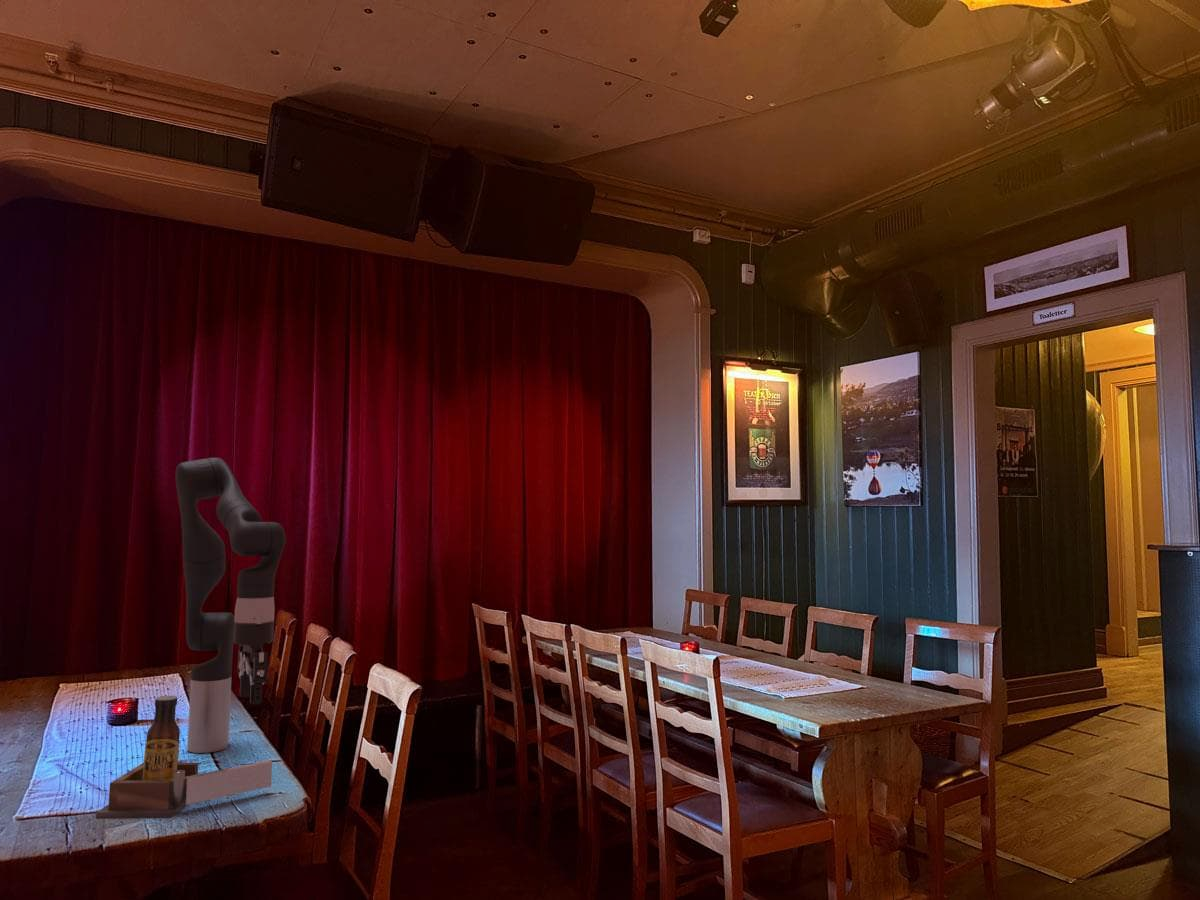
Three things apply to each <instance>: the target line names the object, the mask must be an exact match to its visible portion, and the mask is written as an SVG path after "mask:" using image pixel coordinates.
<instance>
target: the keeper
mask: <svg viewBox="0 0 1200 900" xmlns="http://www.w3.org/2000/svg"><path fill="white" fill-rule="evenodd" d="M272 774H273V761H271V760H270V759H268V760H264V761H258V762H253V763H247V764H244V765H238V766H233V767H229V768H228V767H227V768H224V769H219V770H213V771H208V772H203V773H198V774H197V775H192V776H187V777H185V770H176V771H174V774H173V793H172V807H180V806H183V800H184V804H185V805H186V806H187V805H191V804H196V803H197V804H198V803H200V802H205V801H211V800H214V799H218V798H223V797H229V796H234V795H237V794H242V793H247V792H250V791H256V790H261V789H264V788H265V789H266V788H269V787H272V777H273V775H272ZM184 781H185V784H184Z"/></svg>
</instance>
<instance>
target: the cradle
mask: <svg viewBox="0 0 1200 900" xmlns="http://www.w3.org/2000/svg"><path fill="white" fill-rule="evenodd" d="M143 766H144V762H142V763H141V764H139V765H137V766H135V767H134V768H132V769H131V770H129V771H127V772H126V773H124V774H122V775H121V776H118V777H117V778H116V779H114V780H112V781H110V783H109V795H108V804H107V805H105V806H104V807H102V808H101V809H99V810H98V811H96V812H95V819H96V818H97V819H105V818H106V819H114V818H115V819H121V818H122V819H125V818H127V819H128V818H131V819H134V818H136V819H138V818H139V819H141V818H142V819H144V818H147V819H148V818H156V819H159V818H166V819H167V818H168V819H169V818H172V817H173V816H174V815H175V814H177V813H178V812H179V811H181V810H182V809H183V808H184V807H186V806H187V805H185V804H184V800H183V806H180V807H172V790H173V781H142V777H143ZM177 770H185V777H187V776H192V775H197V774H199V762H178V766H177ZM184 784H185V781H184Z"/></svg>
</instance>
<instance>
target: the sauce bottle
mask: <svg viewBox="0 0 1200 900" xmlns="http://www.w3.org/2000/svg"><path fill="white" fill-rule="evenodd" d="M177 704H178V697H177V696H175V695H164V696H163V695H162V696H158V697H156V698H155V700H154V707H155V708H154V709H155V710H154V717H153V723H152V724H151V726H150V727H149V729H148V730H147V732H146V741H145V744H144V745H145V746H144V754H143V755H144V757H143V763H144V766H143V777H142V781H173V774H174V771H176V770H177V766H178V763H179V753H180V743H181V742H180V737H181V733H180V732H181V731H180V726H179V725H178V724H177V722H176V710H177V709H176V707H177ZM172 793H173V790H172Z"/></svg>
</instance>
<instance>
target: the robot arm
mask: <svg viewBox="0 0 1200 900" xmlns="http://www.w3.org/2000/svg"><path fill="white" fill-rule="evenodd" d="M175 487H176V492H177V493H176V494H177V499H178V500H177V501H178V505H179V506H178V508H179V514H180V521H181V535H182V536H181V537H182V539H181V540H182V564H183V565H182V566H183V573H184V583H185V595H186V596H185V597H186V600H185V601H186V609H185V611H186V614H185V615H186V617H185V622H186V623H185V624H186V625H185V629H186V630H185V637H186V644H187V646H188V648H189V649H190V650H192V651H218V652H217V653H218V654H217V655H216V656H214V658H211V659H209V660H208V661H205V662H201V663H199V664H196V665H194V666H193V667H192V668H191V669H190V670H191V671H190V686H189V707H188V708H189V709H188V723H187V724H188V728H187V729H188V731H187V747H186V748H187V752H190V753H194V754H196V753H197V754H206V753H207V754H208V753H215V752H218V751H222V750H224V749H227V748H228V747H229V737H230V736H229V735H230V717H231V716H230V715H231V696H232V695H231V693H232V673H233V653H234V652H233V651H234V644H235V645H238V647H237V648H238V655H237V669H236V672H237V674H238V677H239V681H240V682H239V696H240V697H241V698H248V697H249V704H250V705H252V706H253V705H260V704H262V703H263V693H264V684H266V683H268V665H269V652H268V651H264V644H271V643H272V642H273V641H274V629H275V628H274V625H275V623H274V622H275V596H274V595H275V580H276V574H277V570H278V567H279V563H280V560H281V557H282V554H283V552H284V550H285V549H284V548H285V546H286V539H287V537H286V532H285V529H284V527H283V526H282V525H281V524H280V523H279V522H273V521H262V517H261V514H260V513H259V511H258V510H257V509H256V508H255V507H254V506H253V505H252V504H251V502H250V501H249V500H248V499H247V498H246V496H245V495H244V494H243V491H242V490H241V487H240V486H239V483H238V481H237V479H236V478H235V476H234V474H233V472H232V470H231V468H230V467H229V465H228V464H227V462H226V461H225V460H224V459H222V458H220V457H208V458H202V459H195V460H187V461H183V462H181V463H179V464H178V465H177V466H176V469H175ZM217 497H219V499H218V501H217V503H216V508H215V509H216V511H215V512H216V515H217V516H216V517H217V518H218V520H219V522H220V523H221V524H222V525H223V527H224V528H225V529H226V530H227V533H228V536H229V544H230V548H231V550H232V551H233V553H235V554H237V555H238V556H242V557H261V558H260V560H259V561H258V563H257V564H256V565H254V566H251V567H246V568H244V569H241V570H240V571H239V573H238V575H237V592H236V593H237V594H236V597H237V598H236V602H235V606H234V607H235V608H234V614H233V613H232V612H224V611H223V612H203V610H202V609H203V608H202V607H203V606H204V603H205V602H206V600H207V598H208V596H210V594H211V593H212V591H213V589H215V587H216V586H217V585H218V583H219V582H220V581H221V580H222V579H223V576H224V574H225V573H226V568H227V561H226V560H227V559H226V545H225V542H224V541H223V539H222V537H221V536H220V535H219V534H218V533H217V531H216V530H215V529H214V528H213V527H212V526H210V525H209V524H208V522H207V521H206V520H205V519H204V518H203V517H202V515H201V514H200V512H199V510H198V504H197V503H198V501H201V500H202V501H203V500H207V499H212V498H217Z"/></svg>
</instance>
